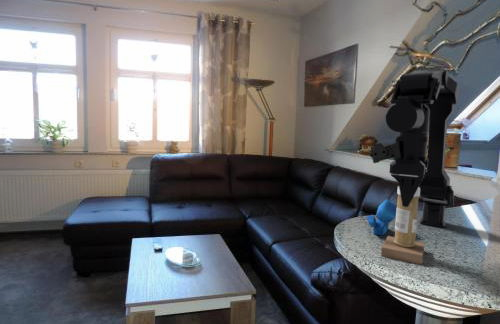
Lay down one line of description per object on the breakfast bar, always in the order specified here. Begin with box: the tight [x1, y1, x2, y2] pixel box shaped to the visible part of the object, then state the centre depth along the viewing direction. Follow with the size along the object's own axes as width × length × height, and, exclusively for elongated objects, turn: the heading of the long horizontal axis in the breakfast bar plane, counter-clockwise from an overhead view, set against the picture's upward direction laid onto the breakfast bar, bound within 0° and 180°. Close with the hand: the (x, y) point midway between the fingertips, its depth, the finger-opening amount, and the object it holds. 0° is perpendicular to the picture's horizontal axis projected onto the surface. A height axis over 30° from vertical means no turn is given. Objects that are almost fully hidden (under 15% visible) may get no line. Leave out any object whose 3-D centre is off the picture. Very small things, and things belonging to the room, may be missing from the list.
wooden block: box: [380, 235, 425, 265], centre depth 74 cm, size 9×8×2 cm
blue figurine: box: [365, 198, 397, 237], centre depth 89 cm, size 7×9×12 cm
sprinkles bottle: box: [394, 185, 420, 247], centre depth 74 cm, size 5×5×13 cm
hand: (407, 202), depth 73 cm, fingers open, 9 cm apart
